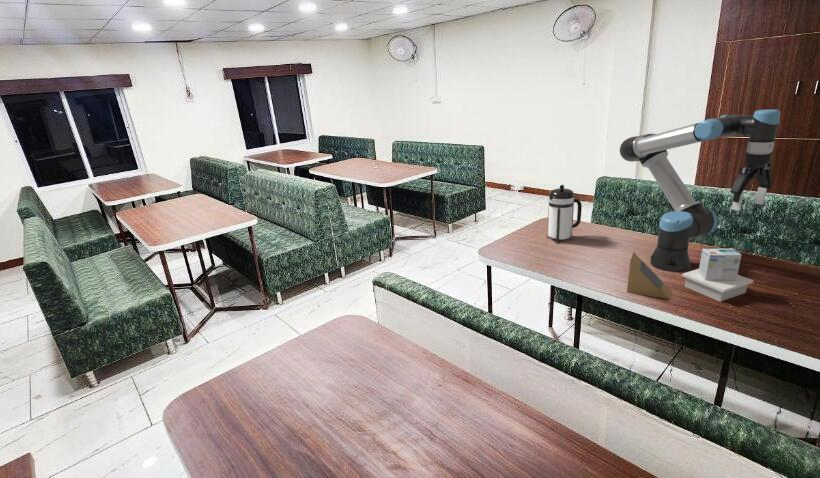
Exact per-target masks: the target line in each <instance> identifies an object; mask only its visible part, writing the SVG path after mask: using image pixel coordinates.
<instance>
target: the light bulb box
mask: <svg viewBox="0 0 820 478" xmlns="http://www.w3.org/2000/svg"><path fill="white" fill-rule="evenodd" d="M700 256H701V257H700V262H699V267H698V269H699V274H700V275H701V276H702V277H703V278H704V279H705V280H736V279H737V275H739V274H738V273H739V269H740V264H741V259H742V254H741V253H740V252H738V250H736V249H734V248H733V247H731V248H702V249H701V255H700Z"/></svg>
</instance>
